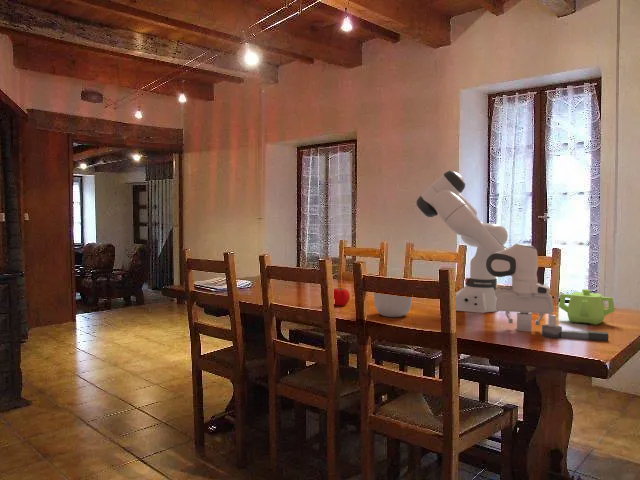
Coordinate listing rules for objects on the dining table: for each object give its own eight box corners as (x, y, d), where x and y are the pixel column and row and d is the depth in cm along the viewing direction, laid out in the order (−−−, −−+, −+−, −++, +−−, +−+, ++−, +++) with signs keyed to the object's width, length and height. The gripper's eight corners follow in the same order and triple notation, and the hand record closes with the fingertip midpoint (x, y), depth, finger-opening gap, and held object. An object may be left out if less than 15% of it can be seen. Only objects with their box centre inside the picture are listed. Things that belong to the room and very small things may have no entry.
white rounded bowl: (375, 311, 235) (375, 277, 235) (413, 312, 232) (414, 278, 231) (371, 318, 219) (371, 281, 218) (412, 320, 215) (412, 283, 215)
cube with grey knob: (516, 330, 196) (517, 311, 195) (516, 327, 200) (517, 309, 200) (531, 331, 194) (531, 312, 193) (531, 328, 198) (531, 309, 198)
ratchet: (542, 337, 184) (542, 316, 184) (541, 333, 190) (541, 313, 190) (609, 342, 177) (609, 320, 177) (606, 338, 183) (606, 316, 183)
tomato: (325, 305, 249) (325, 288, 248) (337, 302, 257) (337, 285, 257) (342, 307, 244) (342, 289, 243) (354, 304, 252) (354, 287, 252)
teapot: (612, 330, 197) (613, 295, 196) (554, 324, 207) (555, 291, 206) (615, 321, 212) (616, 289, 211) (561, 316, 223) (561, 285, 222)
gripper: (494, 286, 197) (494, 323, 198) (554, 289, 190) (553, 327, 190) (495, 284, 203) (494, 320, 203) (553, 287, 196) (552, 324, 196)
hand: (523, 324), depth 197 cm, fingers open, 8 cm apart
